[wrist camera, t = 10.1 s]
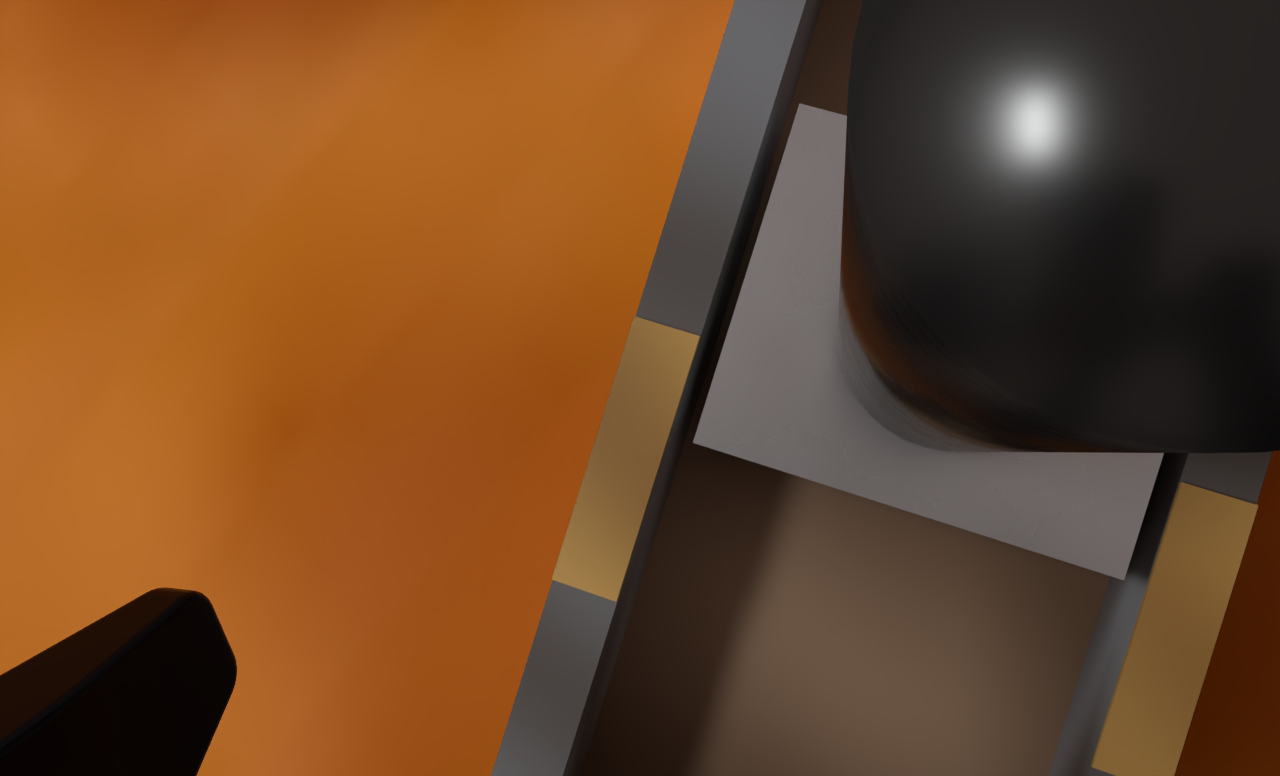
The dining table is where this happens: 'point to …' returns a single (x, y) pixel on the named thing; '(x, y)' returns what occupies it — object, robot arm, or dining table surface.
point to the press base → (836, 547)
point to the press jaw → (1020, 267)
